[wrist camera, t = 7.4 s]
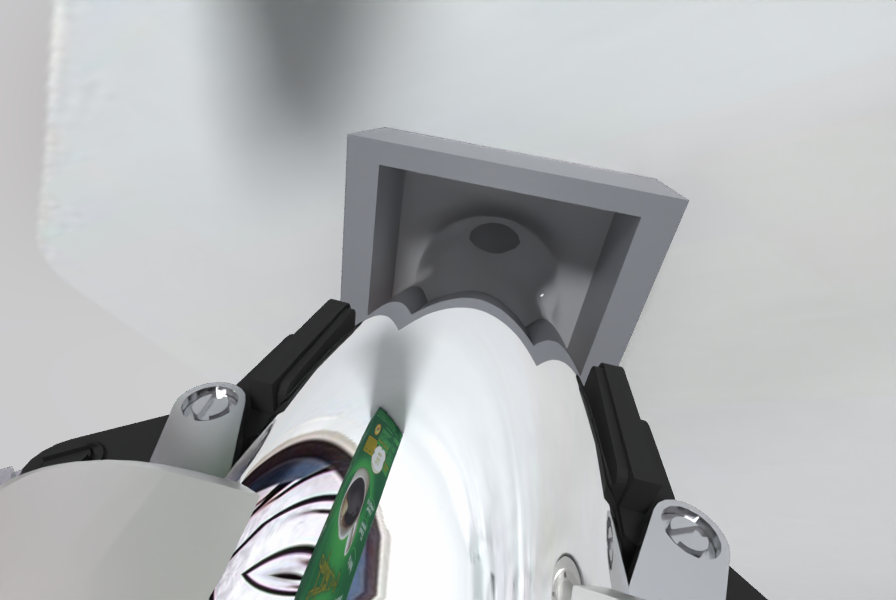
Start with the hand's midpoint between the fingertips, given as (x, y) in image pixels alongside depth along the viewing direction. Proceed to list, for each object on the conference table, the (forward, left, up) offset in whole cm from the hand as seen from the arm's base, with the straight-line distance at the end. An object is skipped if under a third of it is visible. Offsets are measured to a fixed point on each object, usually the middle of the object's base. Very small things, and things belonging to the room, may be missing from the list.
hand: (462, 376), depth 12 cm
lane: (0, +3, -9) cm, 9 cm away
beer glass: (0, 0, -7) cm, 7 cm away
